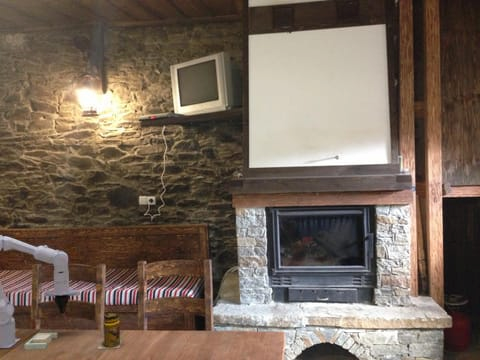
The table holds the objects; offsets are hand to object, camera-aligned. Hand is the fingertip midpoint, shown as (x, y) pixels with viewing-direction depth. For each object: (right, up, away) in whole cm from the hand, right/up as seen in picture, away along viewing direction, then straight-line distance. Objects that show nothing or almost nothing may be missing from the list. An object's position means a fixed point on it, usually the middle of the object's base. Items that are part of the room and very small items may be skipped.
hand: (62, 312), depth 173 cm
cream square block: (-5, -10, -8) cm, 14 cm away
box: (-5, -10, -8) cm, 13 cm away
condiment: (+23, -10, -10) cm, 27 cm away
